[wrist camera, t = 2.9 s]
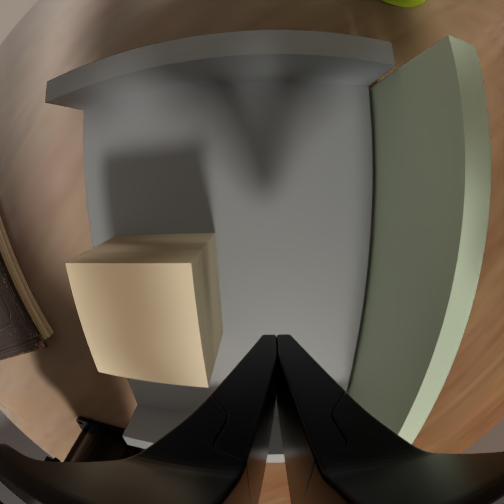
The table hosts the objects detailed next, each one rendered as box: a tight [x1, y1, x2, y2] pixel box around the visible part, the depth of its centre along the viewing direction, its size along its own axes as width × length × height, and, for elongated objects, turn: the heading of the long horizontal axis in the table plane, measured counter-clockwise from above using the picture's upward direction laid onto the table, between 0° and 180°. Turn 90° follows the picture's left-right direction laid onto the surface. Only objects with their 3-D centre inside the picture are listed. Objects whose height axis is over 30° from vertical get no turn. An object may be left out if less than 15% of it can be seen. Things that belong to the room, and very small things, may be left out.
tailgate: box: [346, 35, 491, 444], centre depth 10 cm, size 1×18×7 cm, turn 2°
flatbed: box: [45, 30, 396, 463], centre depth 12 cm, size 13×20×4 cm, turn 2°
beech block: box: [65, 233, 223, 388], centre depth 11 cm, size 5×5×4 cm
